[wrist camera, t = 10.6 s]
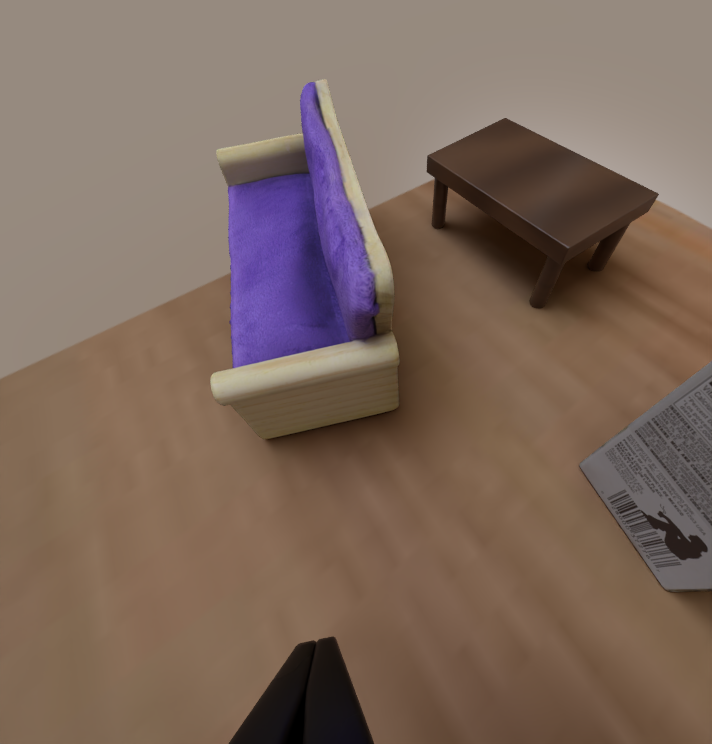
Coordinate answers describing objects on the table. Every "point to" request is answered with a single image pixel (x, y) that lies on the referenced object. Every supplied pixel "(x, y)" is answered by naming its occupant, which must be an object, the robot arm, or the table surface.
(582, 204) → the coffee table
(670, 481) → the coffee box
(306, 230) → the toy sofa
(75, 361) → the table surface
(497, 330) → the table surface
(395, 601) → the table surface
